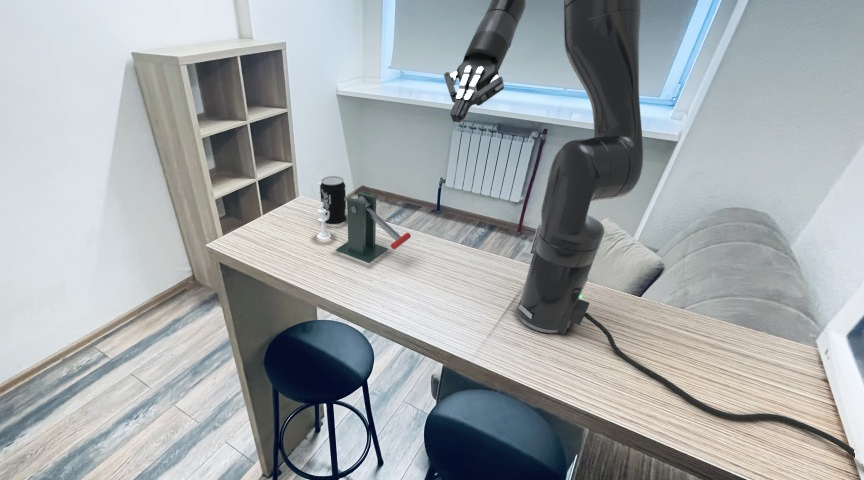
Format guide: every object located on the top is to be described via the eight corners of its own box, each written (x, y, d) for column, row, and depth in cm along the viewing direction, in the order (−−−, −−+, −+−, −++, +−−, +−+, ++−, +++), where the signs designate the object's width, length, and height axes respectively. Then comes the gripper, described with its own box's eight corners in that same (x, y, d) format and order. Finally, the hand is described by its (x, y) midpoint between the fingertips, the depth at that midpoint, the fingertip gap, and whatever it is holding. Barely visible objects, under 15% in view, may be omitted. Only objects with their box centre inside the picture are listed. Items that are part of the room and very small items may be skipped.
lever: (407, 241, 91) (413, 234, 89) (393, 252, 87) (398, 245, 86) (363, 200, 94) (367, 192, 92) (347, 209, 90) (351, 201, 88)
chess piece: (311, 242, 103) (308, 205, 97) (318, 233, 106) (315, 197, 101) (329, 245, 101) (327, 207, 96) (336, 235, 105) (334, 199, 99)
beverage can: (345, 227, 109) (344, 184, 102) (321, 227, 109) (318, 184, 102) (346, 216, 114) (345, 175, 107) (323, 217, 114) (320, 175, 107)
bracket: (388, 252, 98) (390, 196, 90) (369, 267, 93) (369, 209, 84) (355, 240, 103) (354, 186, 95) (335, 254, 98) (332, 198, 90)
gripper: (456, 28, 82) (421, 104, 82) (521, 29, 76) (483, 112, 75) (463, 55, 89) (431, 126, 88) (524, 59, 82) (489, 135, 82)
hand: (455, 119), depth 82 cm, fingers closed
